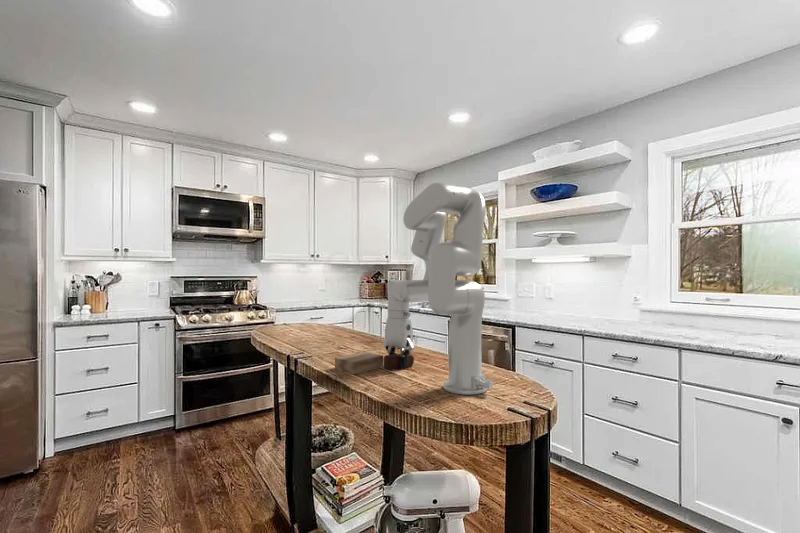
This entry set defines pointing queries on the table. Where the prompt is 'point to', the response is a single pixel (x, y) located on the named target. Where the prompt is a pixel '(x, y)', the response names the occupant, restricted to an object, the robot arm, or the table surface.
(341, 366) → the base block
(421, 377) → the table surface
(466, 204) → the robot arm
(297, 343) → the table surface
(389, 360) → the brick
